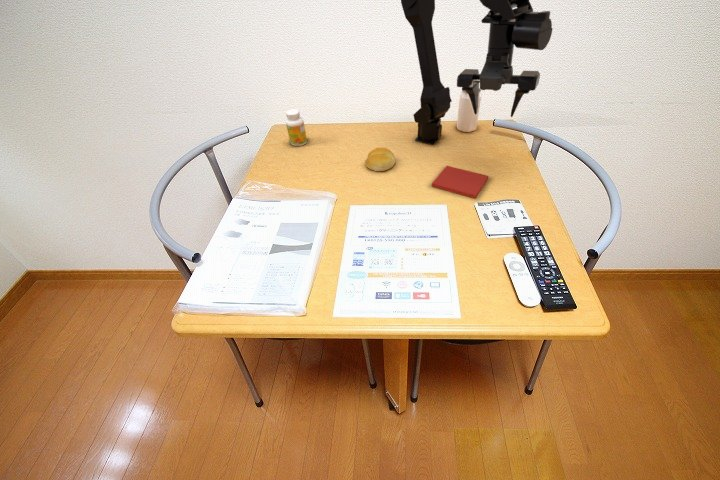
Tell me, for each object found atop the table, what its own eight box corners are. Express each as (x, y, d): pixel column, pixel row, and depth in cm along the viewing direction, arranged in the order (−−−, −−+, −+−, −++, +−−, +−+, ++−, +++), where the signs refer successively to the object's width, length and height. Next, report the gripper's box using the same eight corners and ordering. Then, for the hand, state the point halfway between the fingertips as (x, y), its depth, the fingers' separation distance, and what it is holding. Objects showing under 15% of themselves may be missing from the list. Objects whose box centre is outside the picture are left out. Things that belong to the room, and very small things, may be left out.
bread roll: (363, 171, 102) (362, 158, 99) (369, 155, 108) (369, 143, 105) (392, 173, 101) (392, 160, 98) (397, 157, 107) (397, 144, 104)
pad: (431, 186, 96) (431, 183, 95) (446, 168, 102) (446, 165, 101) (475, 198, 91) (475, 195, 90) (488, 179, 97) (488, 175, 96)
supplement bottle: (287, 145, 115) (279, 114, 108) (296, 137, 118) (289, 107, 111) (301, 147, 113) (295, 116, 106) (310, 139, 117) (304, 109, 110)
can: (476, 133, 116) (482, 94, 107) (455, 132, 117) (459, 93, 108) (476, 124, 120) (482, 86, 112) (456, 123, 121) (461, 85, 113)
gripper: (450, 54, 82) (448, 124, 92) (537, 55, 75) (524, 130, 85) (465, 43, 89) (462, 108, 99) (546, 42, 82) (533, 113, 92)
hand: (493, 115), depth 94 cm, fingers open, 9 cm apart
